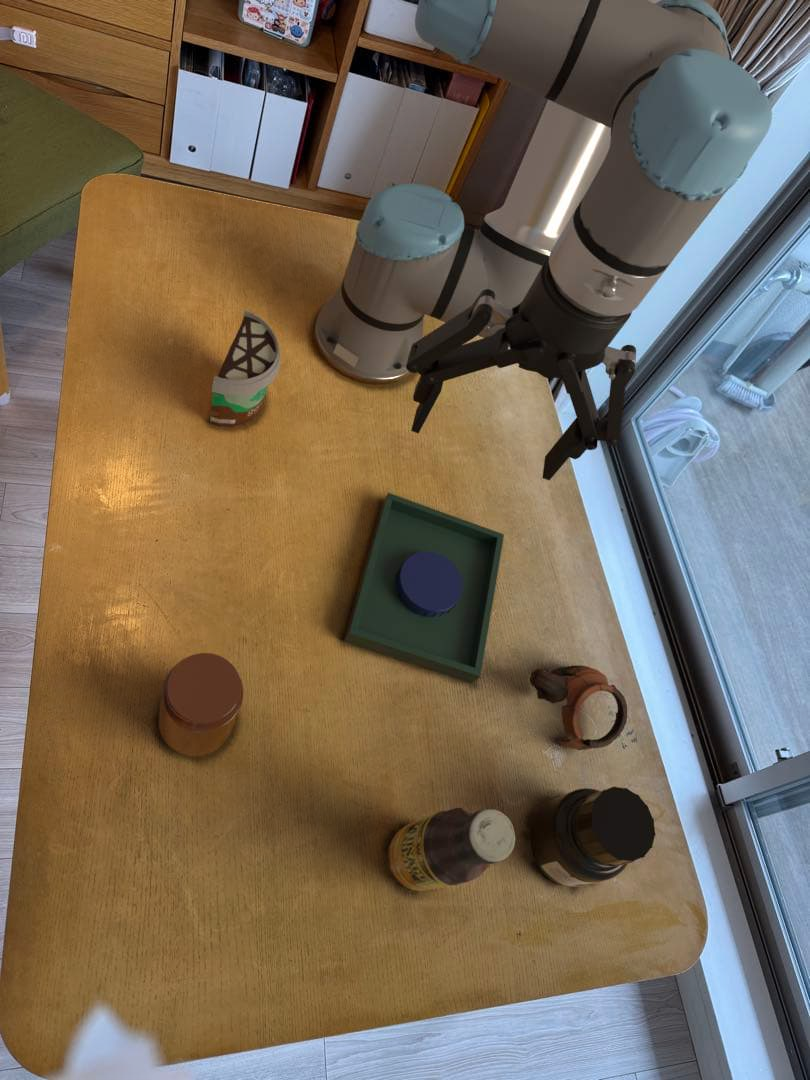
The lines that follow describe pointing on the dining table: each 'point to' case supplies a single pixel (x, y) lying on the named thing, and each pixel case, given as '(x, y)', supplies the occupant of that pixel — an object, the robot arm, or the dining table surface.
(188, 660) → the jar
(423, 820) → the sauce bottle
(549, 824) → the ink bottle
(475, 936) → the dining table surface
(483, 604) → the tray
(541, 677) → the pottery mug
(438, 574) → the lid
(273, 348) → the food container
